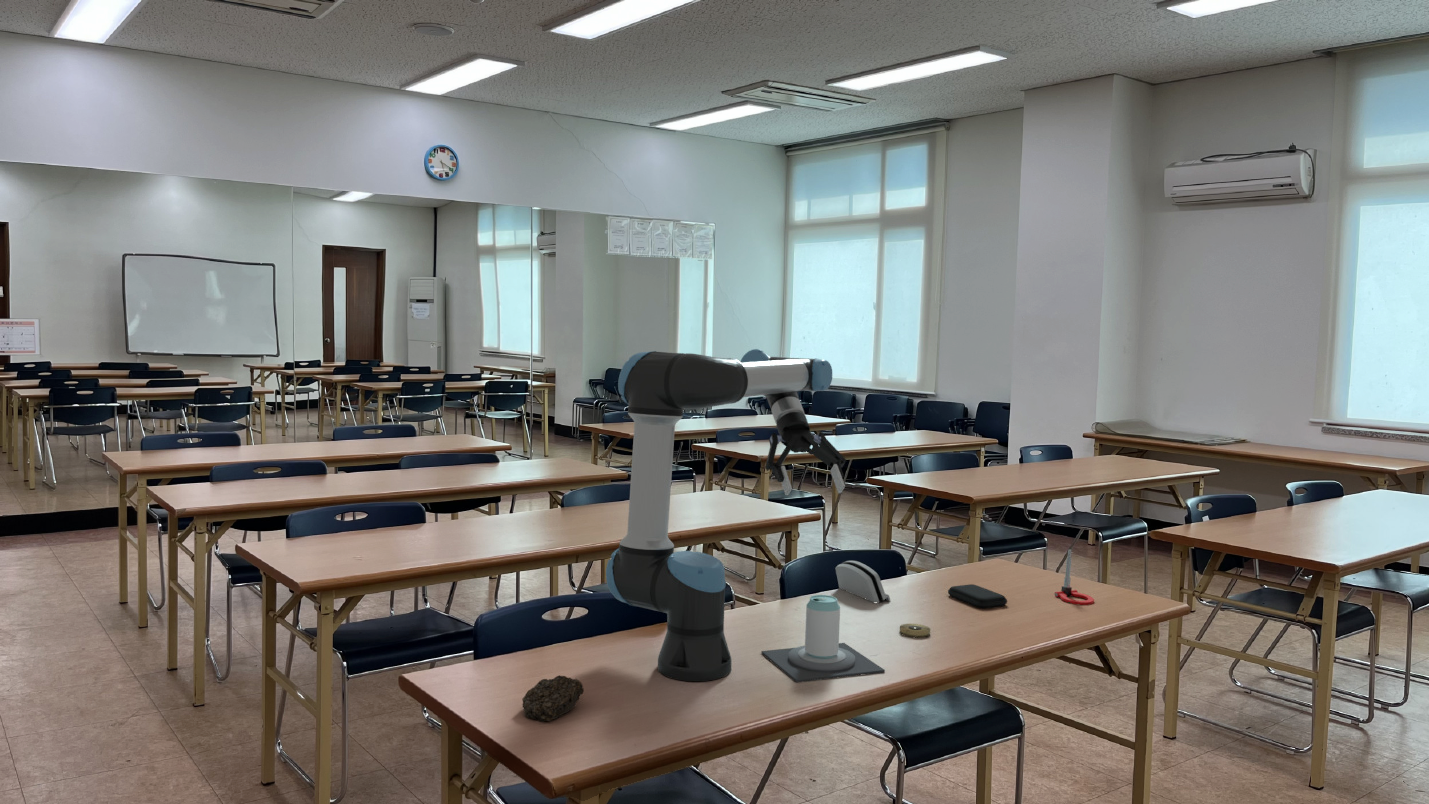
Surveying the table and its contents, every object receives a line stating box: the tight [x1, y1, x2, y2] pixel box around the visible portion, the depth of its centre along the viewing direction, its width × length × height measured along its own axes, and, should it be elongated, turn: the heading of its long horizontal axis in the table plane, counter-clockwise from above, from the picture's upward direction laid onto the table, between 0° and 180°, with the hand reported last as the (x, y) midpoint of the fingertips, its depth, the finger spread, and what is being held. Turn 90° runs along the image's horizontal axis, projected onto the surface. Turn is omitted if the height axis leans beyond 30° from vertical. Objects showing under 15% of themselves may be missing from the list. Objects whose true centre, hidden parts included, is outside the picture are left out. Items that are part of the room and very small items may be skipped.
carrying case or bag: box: [947, 583, 1008, 610], centre depth 259 cm, size 11×3×15 cm
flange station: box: [760, 642, 886, 683], centre depth 208 cm, size 20×18×2 cm
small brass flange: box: [899, 623, 931, 639], centre depth 230 cm, size 7×7×1 cm
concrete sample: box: [521, 675, 584, 723], centre depth 180 cm, size 12×10×5 cm
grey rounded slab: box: [835, 560, 891, 604], centre depth 261 cm, size 17×5×10 cm, turn 28°
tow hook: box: [1054, 549, 1095, 606], centre depth 261 cm, size 8×13×9 cm
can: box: [804, 594, 841, 658], centre depth 208 cm, size 7×7×12 cm
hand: (815, 491), depth 229 cm, fingers open, 13 cm apart
